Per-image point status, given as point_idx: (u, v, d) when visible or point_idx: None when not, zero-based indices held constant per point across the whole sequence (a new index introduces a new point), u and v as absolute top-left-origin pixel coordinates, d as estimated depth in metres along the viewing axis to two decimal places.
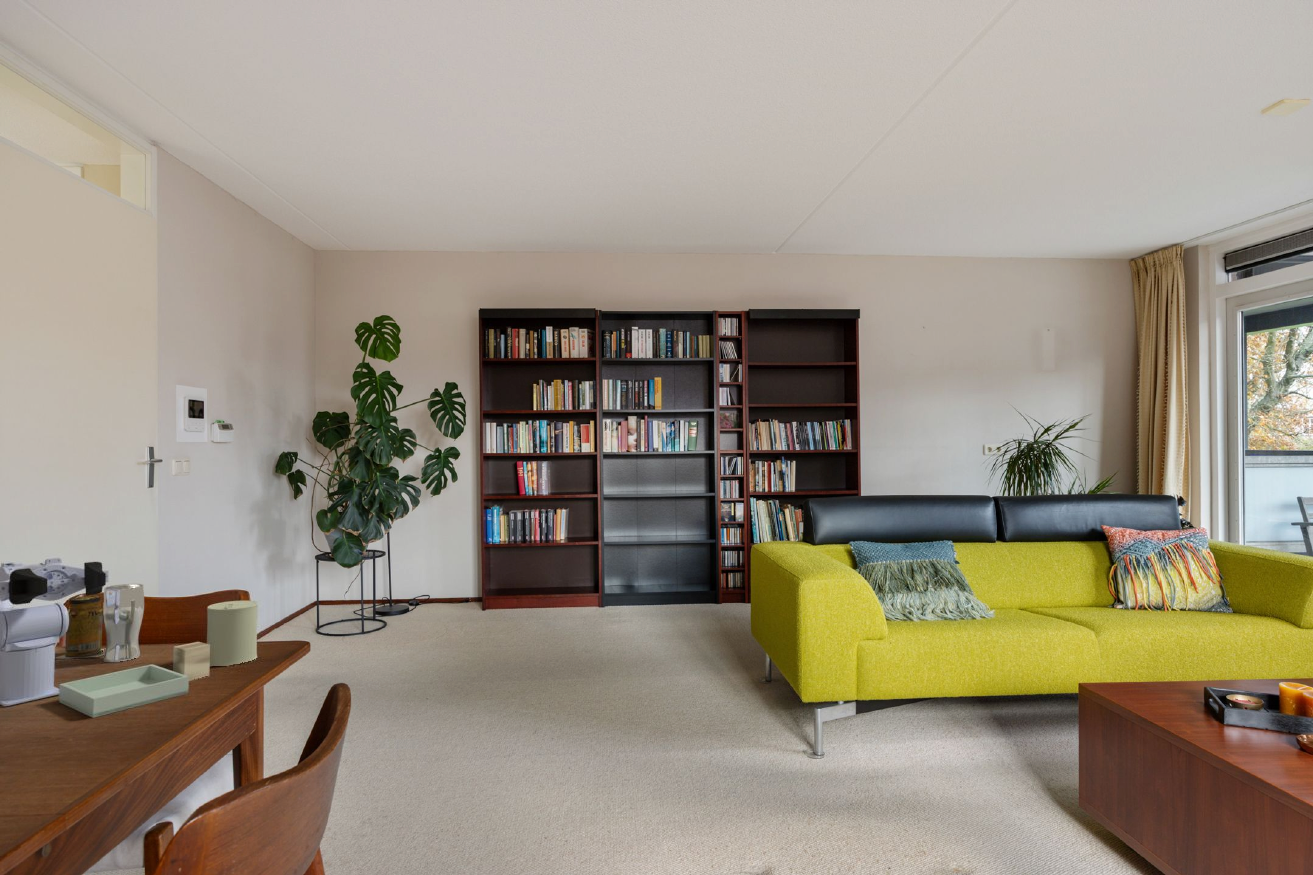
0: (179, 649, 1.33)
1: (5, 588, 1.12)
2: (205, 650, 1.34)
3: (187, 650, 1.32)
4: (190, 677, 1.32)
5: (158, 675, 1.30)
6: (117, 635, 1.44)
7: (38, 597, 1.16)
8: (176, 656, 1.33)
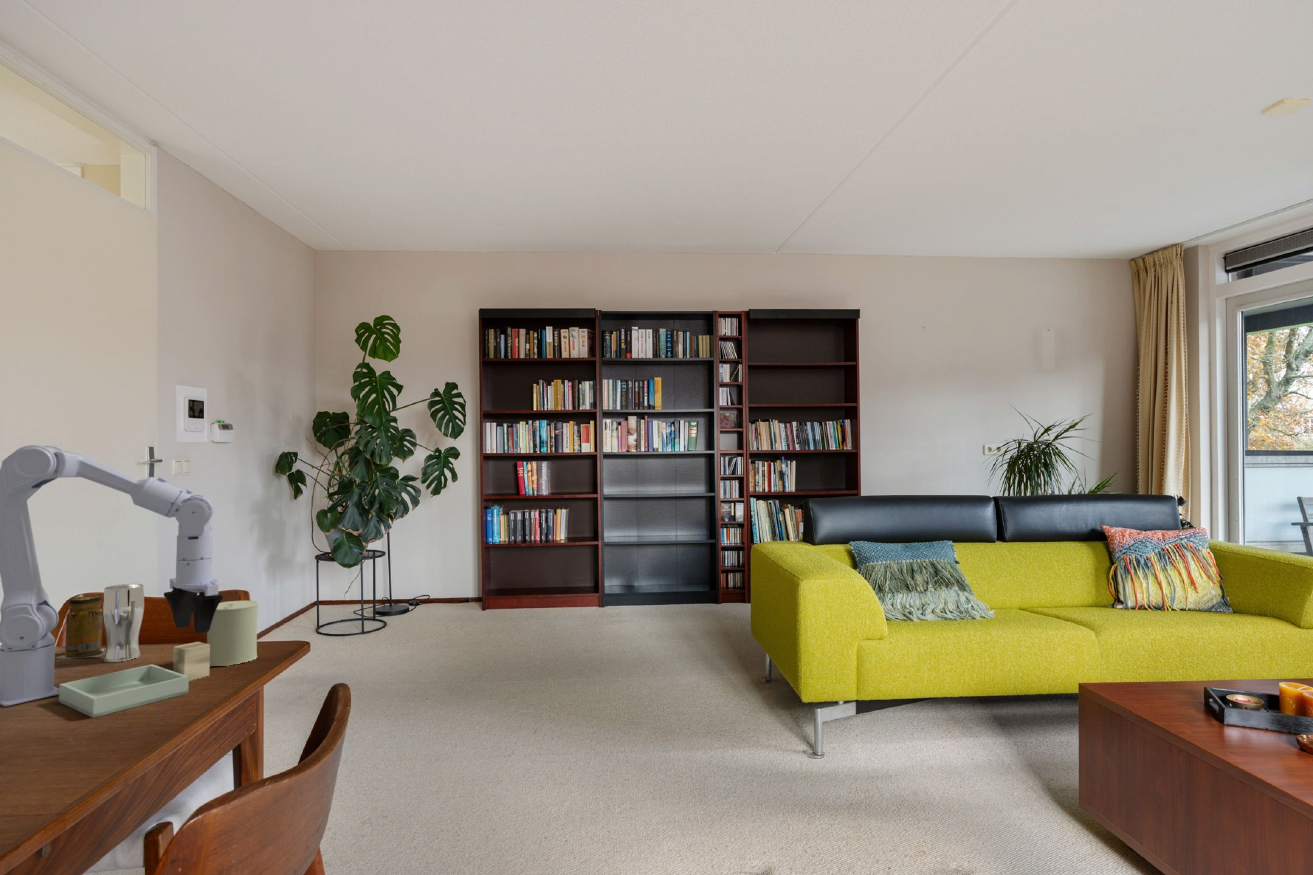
0: (179, 649, 1.33)
1: (210, 594, 1.31)
2: (205, 650, 1.34)
3: (187, 650, 1.32)
4: (190, 677, 1.32)
5: (158, 675, 1.30)
6: (117, 635, 1.44)
7: None
8: (176, 656, 1.33)
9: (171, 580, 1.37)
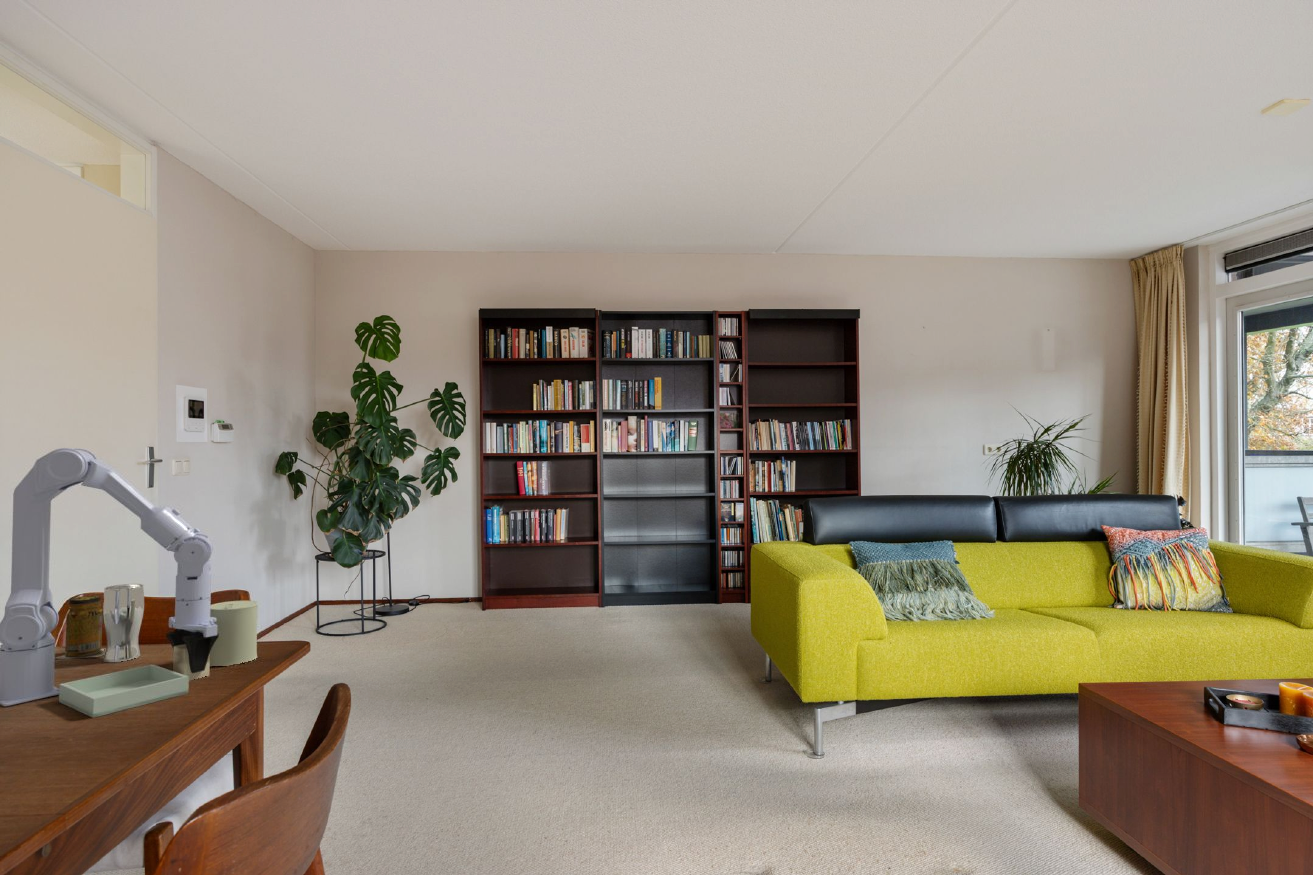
0: (179, 649, 1.33)
1: None
2: None
3: None
4: (190, 677, 1.32)
5: (158, 675, 1.30)
6: (117, 635, 1.44)
7: (185, 629, 1.32)
8: (176, 656, 1.33)
9: (170, 619, 1.37)
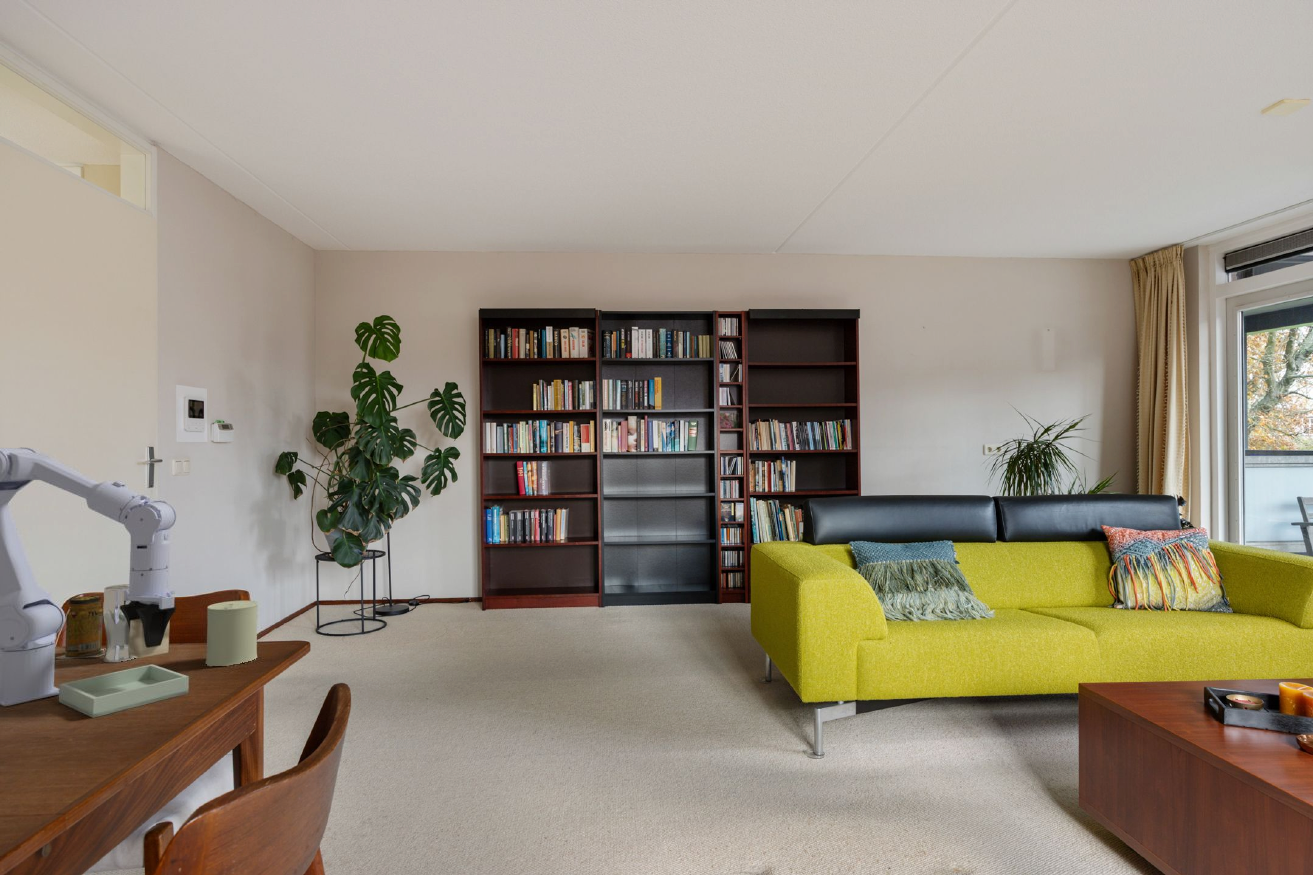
0: (136, 623, 1.25)
1: (165, 607, 1.23)
2: None
3: None
4: (147, 652, 1.24)
5: (158, 675, 1.30)
6: (117, 635, 1.44)
7: (139, 600, 1.24)
8: (133, 630, 1.25)
9: (125, 591, 1.29)
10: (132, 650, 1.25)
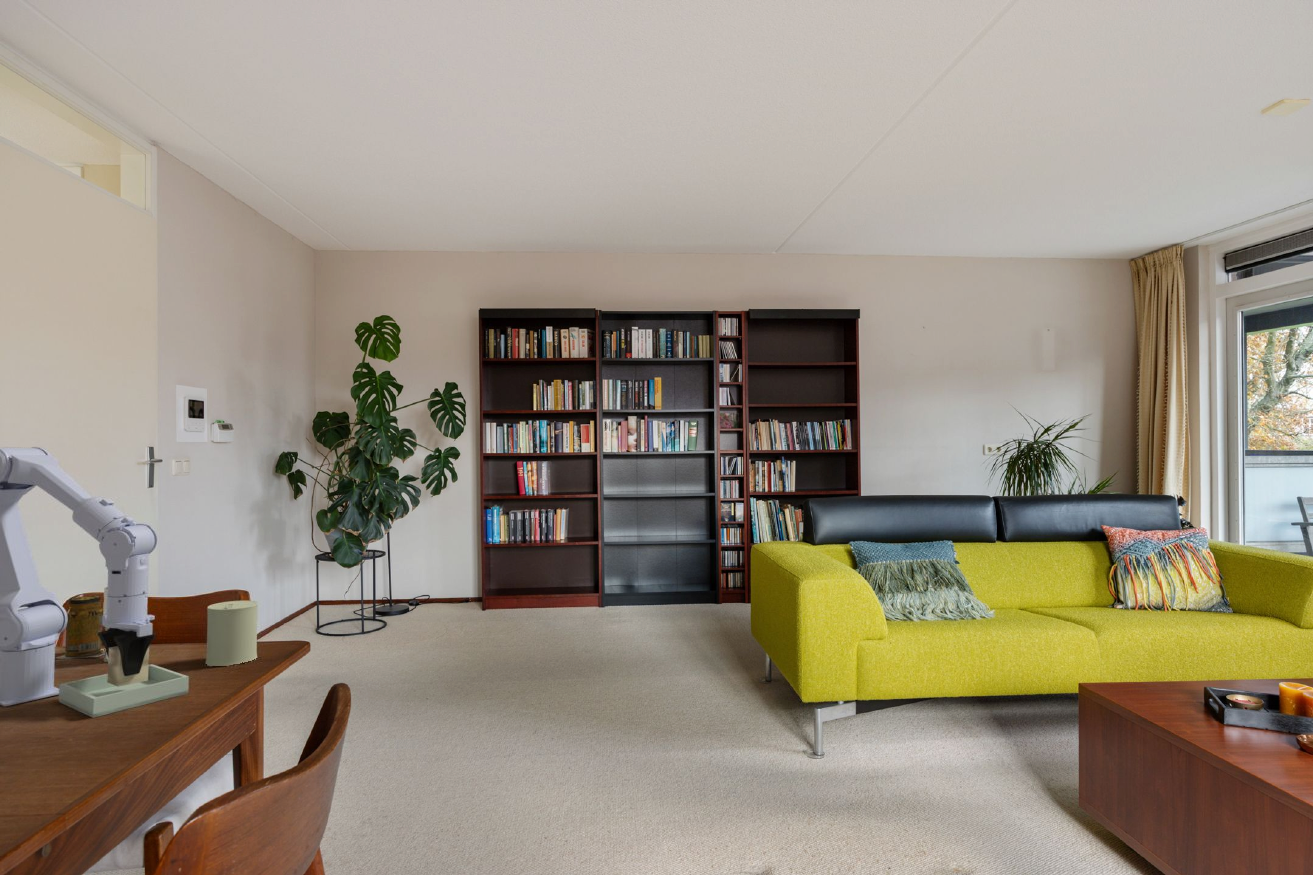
0: (114, 650, 1.21)
1: None
2: None
3: None
4: (125, 681, 1.21)
5: (158, 675, 1.30)
6: None
7: (117, 627, 1.20)
8: (111, 658, 1.22)
9: (104, 617, 1.25)
10: (110, 678, 1.22)
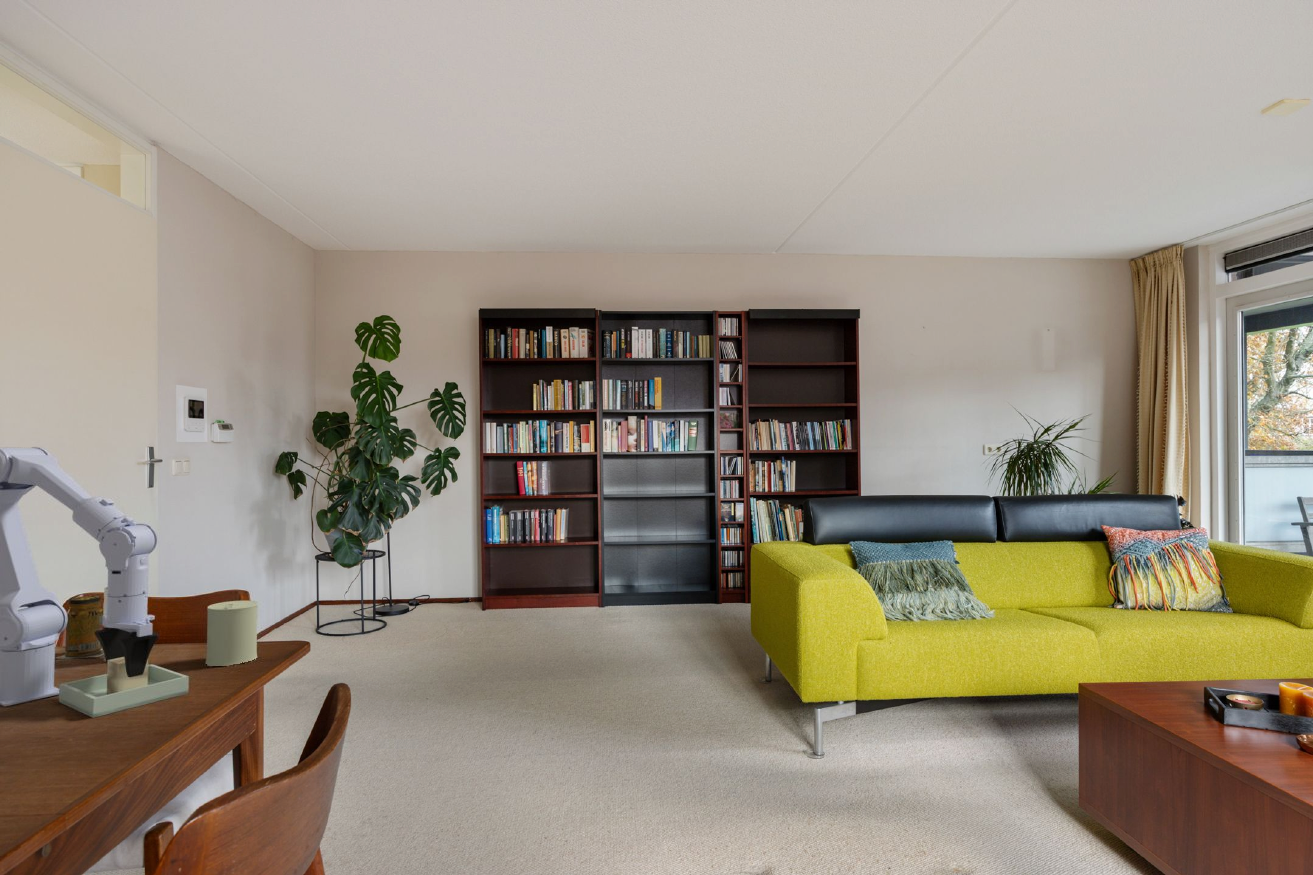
0: (113, 663, 1.21)
1: None
2: None
3: (121, 664, 1.20)
4: None
5: (158, 675, 1.30)
6: None
7: (117, 627, 1.20)
8: (110, 671, 1.22)
9: (104, 617, 1.25)
10: (110, 691, 1.21)
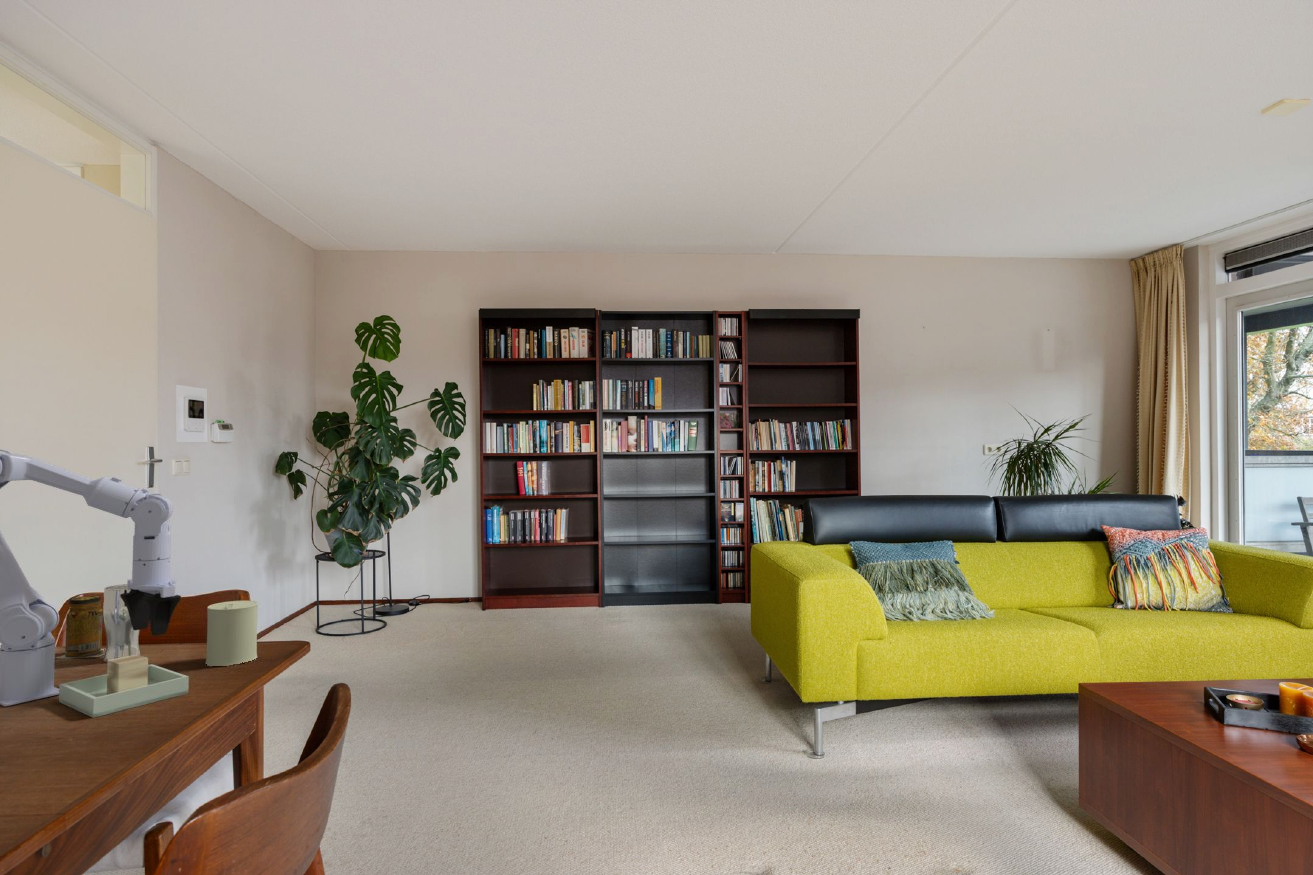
0: (113, 663, 1.21)
1: None
2: (142, 664, 1.23)
3: (121, 664, 1.20)
4: None
5: (158, 675, 1.30)
6: (117, 635, 1.44)
7: (142, 589, 1.28)
8: (110, 671, 1.22)
9: (128, 581, 1.34)
10: (110, 691, 1.21)
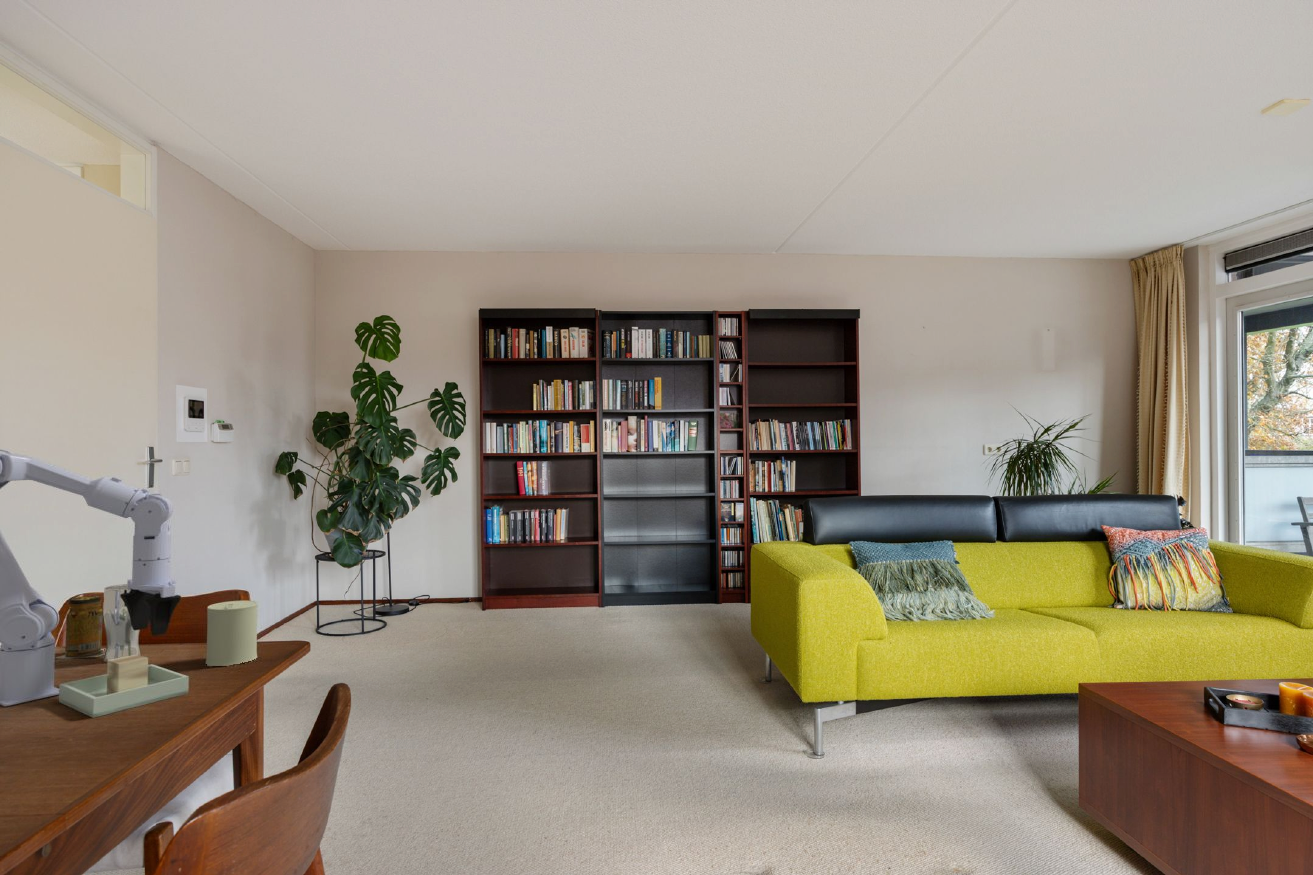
0: (113, 663, 1.21)
1: None
2: (142, 664, 1.23)
3: (121, 664, 1.20)
4: None
5: (158, 675, 1.30)
6: (117, 635, 1.44)
7: (142, 589, 1.28)
8: (110, 671, 1.22)
9: (128, 581, 1.34)
10: (110, 691, 1.21)
